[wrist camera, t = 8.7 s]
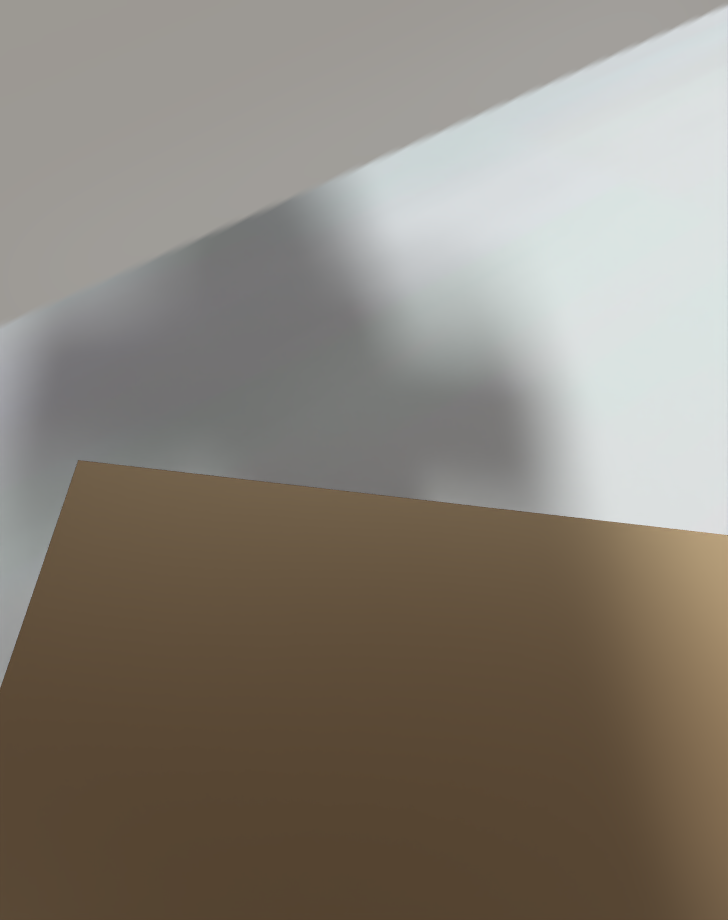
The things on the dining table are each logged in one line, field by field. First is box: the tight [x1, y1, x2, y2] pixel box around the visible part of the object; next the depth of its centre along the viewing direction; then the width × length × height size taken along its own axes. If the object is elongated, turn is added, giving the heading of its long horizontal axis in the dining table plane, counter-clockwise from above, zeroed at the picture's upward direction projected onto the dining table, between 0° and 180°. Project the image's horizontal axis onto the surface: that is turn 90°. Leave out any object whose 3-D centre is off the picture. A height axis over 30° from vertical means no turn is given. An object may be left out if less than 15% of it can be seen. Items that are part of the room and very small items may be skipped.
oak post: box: [0, 460, 728, 920], centre depth 9 cm, size 5×5×12 cm
